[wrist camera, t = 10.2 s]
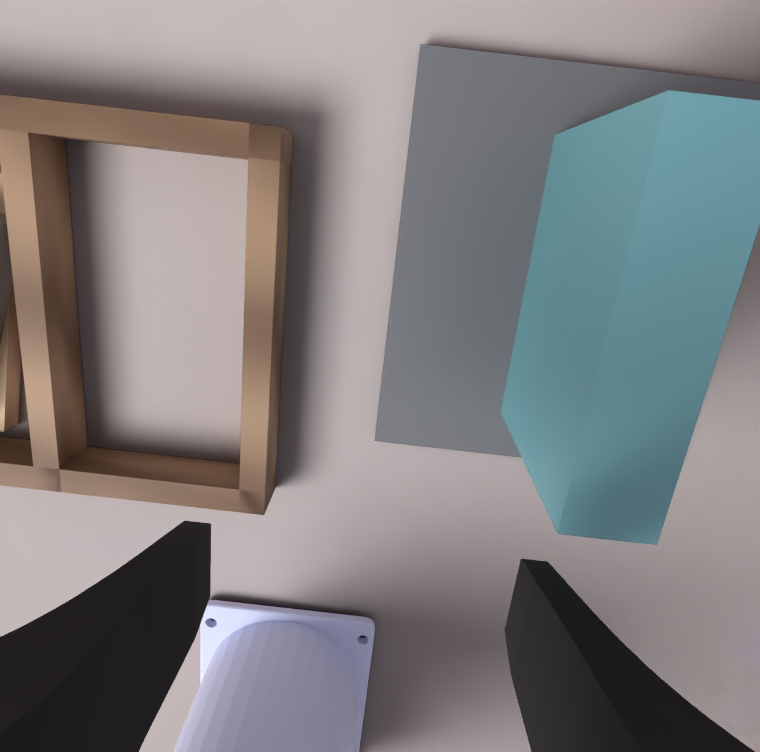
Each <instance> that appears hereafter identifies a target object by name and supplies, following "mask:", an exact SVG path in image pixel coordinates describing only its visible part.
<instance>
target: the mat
mask: <svg viewBox="0 0 760 752" xmlns="http://www.w3.org/2000/svg"><path fill="white" fill-rule="evenodd" d="M668 90H671V91H680V92H689V93H698V94H706V95H715V96H724V97H732V98H741V99H750V100H759V101H760V83H755V82H747V81H738V80H729V79H720V78H712V77H703V76H694V75H686V74H677V73H668V72H659V71H651V70H642V69H633V68H624V67H616V66H607V65H598V64H590V63H581V62H572V61H563V60H555V59H546V58H537V57H529V56H520V55H511V54H502V53H494V52H485V51H476V50H468V49H459V48H450V47H441V46H433V45H424V44H421V45H420V53H419V62H418V70H417V79H416V88H415V96H414V105H413V114H412V122H411V131H410V140H409V148H408V157H407V165H406V174H405V183H404V191H403V200H402V209H401V217H400V226H399V235H398V243H397V252H396V261H395V269H394V278H393V287H392V295H391V304H390V313H389V321H388V330H387V339H386V347H385V356H384V365H383V373H382V382H381V391H380V399H379V408H378V417H377V425H376V434H375V441H380V442H389V443H398V444H407V445H415V446H424V447H433V448H442V449H451V450H460V451H468V452H477V453H486V454H495V455H504V456H513V457H521V454H520V452H519V450H518V448H517V446H516V444H515V442H514V440H513V437H512V435H511V433H510V431H509V429H508V427H507V425H506V422H505V420H504V418H503V416H502V414H501V408H502V403H503V398H504V393H505V388H506V383H507V378H508V372H509V367H510V362H511V357H512V352H513V347H514V341H515V336H516V331H517V326H518V321H519V316H520V311H521V305H522V300H523V295H524V290H525V285H526V280H527V275H528V269H529V264H530V259H531V254H532V249H533V244H534V239H535V233H536V228H537V223H538V218H539V213H540V208H541V203H542V197H543V192H544V187H545V182H546V177H547V172H548V167H549V161H550V156H551V151H552V146H553V141H554V136H555V134H558V133H561V132H563V131H566V130H568V129H571V128H573V127H576V126H578V125H581V124H584V123H586V122H589V121H591V120H594V119H596V118H599V117H601V116H604V115H607V114H609V113H612V112H614V111H617V110H619V109H622V108H624V107H627V106H630V105H632V104H635V103H637V102H640V101H642V100H645V99H647V98H650V97H653V96H655V95H658V94H660V93H663V92H665V91H668ZM521 458H522V457H521Z"/></svg>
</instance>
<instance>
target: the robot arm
mask: <svg viewBox="0 0 760 752" xmlns="http://www.w3.org/2000/svg"><path fill="white" fill-rule="evenodd" d="M210 564H211V524H209V523H200V522H191V521H184V522H182V523H181V524H179V525H178V526H177V527H175V528H174V529H173V530H171V531H170V532H168V533H167V534H166V535H164V536H163V537H162V538H160V539H159V540H158V541H156V542H155V543H154V544H152V545H151V546H149V547H148V548H147V549H145V550H144V551H143V552H141V553H140V554H139V555H137V556H136V557H134V558H133V559H132V560H130V561H129V562H127V563H126V564H124V565H123V566H122V567H120V568H119V569H117V570H116V571H115V572H113V573H111V574H110V575H108V576H107V577H105V578H104V579H102V580H101V581H99V582H98V583H96V584H94V585H93V586H91V587H90V588H88V589H87V590H85V591H84V592H82V593H81V594H79V595H77V596H76V597H74V598H73V599H71V600H69V601H68V602H66V603H64V604H62V605H61V606H59V607H57V608H56V609H54V610H52V611H50V612H48V613H47V614H45V615H43V616H41V617H39V618H37V619H35V620H34V621H32V622H30V623H28V624H26V625H24V626H22V627H20V628H18V629H16V630H14V631H12V632H10V633H8V634H6V635H4V636H1V637H0V752H139V750H140V748H141V745H142V743H143V741H144V739H145V737H146V735H147V733H148V731H149V729H150V727H151V725H152V723H153V721H154V719H155V717H156V715H157V713H158V711H159V709H160V707H161V705H162V703H163V701H164V699H165V697H166V695H167V693H168V691H169V689H170V687H171V685H172V683H173V681H174V679H175V677H176V675H177V673H178V672H179V669H180V667H181V665H182V663H183V661H184V659H185V657H186V655H187V653H188V651H189V649H190V647H191V645H192V643H193V641H194V639H195V637H196V634H197V632H198V629H199V626H200V624H201V653H200V687H199V690H198V692H197V694H196V697H195V699H194V702H193V704H192V707H191V709H190V712H189V714H188V717H187V719H186V722H185V724H184V726H183V729H182V731H181V734H180V736H179V739H178V741H177V744H176V746H175V749H174V751H173V752H359V747H360V740H361V732H362V725H363V717H364V710H365V702H366V694H367V687H368V679H369V672H370V664H371V657H372V649H373V641H374V634H375V623H374V622H373V620H371V619H370V618H367V617H361V616H352V615H344V614H335V613H326V612H317V611H308V610H299V609H290V608H281V607H273V606H264V605H255V604H246V603H237V602H228V601H219V600H209V598H210ZM209 618H212V619H214V620H215V621H212V620H210V619H209ZM505 634H506V642H507V649H508V657H509V663H510V670H511V675H512V679H513V683H514V687H515V691H516V695H517V699H518V703H519V706H520V710H521V714H522V718H523V721H524V725H525V729H526V733H527V736H528V740H529V744H530V747H531V751H532V752H755V751H753V750H752V749H750V748H749V747H747V746H746V745H745V744H743V743H742V742H740V741H739V740H738V739H736V738H735V737H734V736H732V735H731V734H730V733H728V732H727V731H726V730H724V729H723V728H722V727H720V726H719V725H718V724H716V723H715V722H713V721H712V720H711V719H709V718H708V717H707V716H706V715H704V714H703V713H702V712H700V711H699V710H698V709H697V708H695V707H694V706H693V705H692V704H690V703H689V702H688V701H687V700H686V699H684V698H683V697H682V696H681V695H680V694H678V693H677V692H676V691H675V690H674V689H673V688H671V687H670V686H669V685H668V684H667V683H665V682H664V681H663V680H662V679H661V678H660V677H658V676H657V675H656V674H655V673H654V672H653V671H652V670H651V669H650V668H648V667H647V666H646V665H645V664H644V663H643V662H642V661H641V660H640V659H639V658H638V657H637V656H636V655H635V654H634V653H633V652H632V651H631V650H630V649H629V648H628V647H627V646H625V645H624V644H623V643H622V642H621V641H620V640H619V639H618V638H617V637H616V636H615V635H614V633H613V632H612V631H611V630H610V629H609V628H608V627H607V626H606V625H605V624H604V623H603V622H602V621H601V620H600V619H599V618H598V617H597V616H596V615H595V614H594V612H593V611H592V610H591V609H590V608H589V607H588V606H587V605H586V604H585V603H584V602H583V600H582V599H581V598H580V597H579V596H578V595H577V594H576V593H575V592H574V590H573V589H572V588H571V587H570V586H569V585H568V584H567V583H566V581H565V580H564V579H563V578H562V577H561V576H560V575H559V574H558V573H557V571H556V570H555V569H554V568H553V567H552V566H551V565H550V564H549V563H548V562H546V561H537V560H528V559H521V561H520V566H519V570H518V574H517V579H516V583H515V587H514V592H513V596H512V601H511V605H510V609H509V614H508V618H507V622H506V627H505ZM362 635H364V636H366V638H362V637H359V636H362Z"/></svg>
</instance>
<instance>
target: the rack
mask: <svg viewBox="0 0 760 752" xmlns="http://www.w3.org/2000/svg"><path fill="white" fill-rule="evenodd" d="M65 139H72V140H81V141H90V142H99V143H107V144H116V145H125V146H134V147H142V148H151V149H160V150H169V151H178V152H186V153H195V154H204V155H213V156H221V157H230V158H239V159H248V193H247V229H246V264H245V300H244V336H243V372H242V408H241V444H240V464H237V463H228V462H219V461H210V460H201V459H193V458H184V457H175V456H166V455H157V454H148V453H140V452H131V451H122V450H113V449H104V448H95V447H87V433H86V419H85V405H84V391H83V378H82V364H81V350H80V336H79V322H78V308H77V295H76V281H75V267H74V253H73V239H72V226H71V212H70V198H69V184H68V170H67V156H66V143H65ZM292 153H293V133H292V132H290V131H288V130H286V129H285V128H283V127H280V126H271V125H263V124H254V123H245V122H236V121H228V120H219V119H210V118H201V117H193V116H184V115H175V114H166V113H158V112H149V111H140V110H132V109H123V108H114V107H105V106H97V105H88V104H79V103H70V102H62V101H53V100H44V99H35V98H27V97H18V96H9V95H0V165H1V174H2V184H3V193H4V202H5V211H6V220H7V229H8V239H9V248H10V257H11V266H12V275H13V284H14V293H15V303H16V312H17V321H18V330H19V339H20V348H21V357H22V367H23V376H24V385H25V394H26V403H27V412H28V422H29V431H30V440H25V439H16V438H7V437H0V485H4V486H12V487H21V488H30V489H39V490H48V491H57V492H65V493H74V494H83V495H92V496H101V497H110V498H119V499H127V500H136V501H145V502H154V503H163V504H172V505H181V506H189V507H198V508H207V509H216V510H225V511H234V512H243V513H251V514H260V515H264V514H265V511H266V509H267V506H268V504H269V502H270V499H271V497H272V495H273V492H274V490H275V480H276V461H277V441H278V422H279V403H280V384H281V365H282V345H283V326H284V307H285V288H286V268H287V249H288V230H289V211H290V192H291V172H292Z"/></svg>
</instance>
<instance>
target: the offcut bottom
mask: <svg viewBox="0 0 760 752" xmlns="http://www.w3.org/2000/svg"><path fill="white" fill-rule="evenodd" d="M0 213H2V214H5V215H6V211H5V202H4V193H3V184H2V174H1V169H0ZM21 359H22V357H21V348H20V339H19V330H18V321H17V312H16V303H15V293H14V284H13V280H12V285H11V291H10V296H9V301H8V307H7V312H6V317H5V323H4V328H3V333H2V339H1V344H0V431H2V432H5V431H7V430H8V429H10V428H12V427H13V426H15V425H17V424H18V419H19V399H20V379H21Z"/></svg>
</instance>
